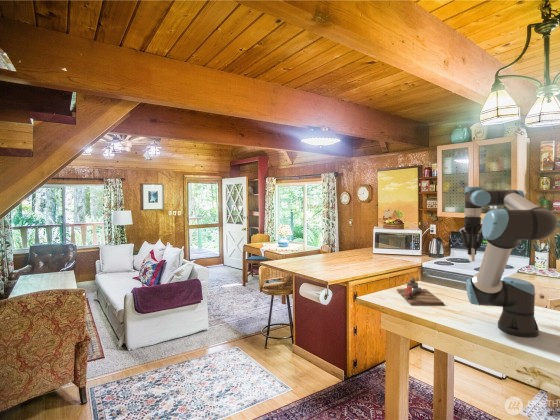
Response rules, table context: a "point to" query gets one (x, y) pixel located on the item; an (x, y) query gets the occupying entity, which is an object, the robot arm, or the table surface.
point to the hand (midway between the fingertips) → (471, 260)
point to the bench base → (420, 295)
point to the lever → (411, 291)
